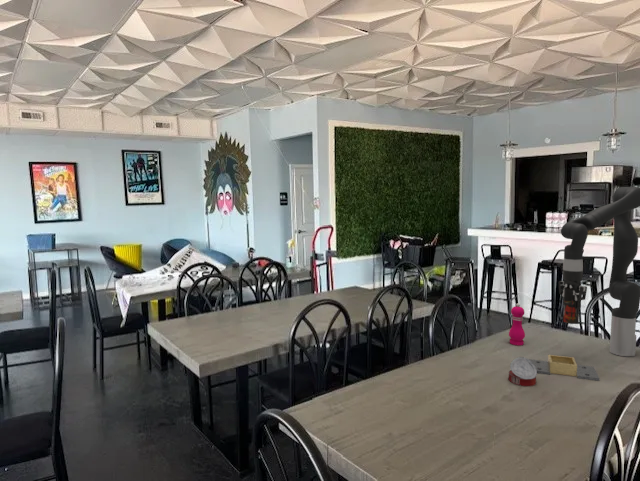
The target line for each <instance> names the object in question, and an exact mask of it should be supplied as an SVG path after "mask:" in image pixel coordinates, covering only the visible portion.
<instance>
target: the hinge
mask: <svg viewBox="0 0 640 481" xmlns="http://www.w3.org/2000/svg"><path fill="white" fill-rule="evenodd" d="M528 359H529V360H530V361H531V362H532V363H533V365H534V366H535V368H536V370H537V374H541V375H549V376H550V375H551V374H554V375H563V376H570V377H576V378H577V379H582V380H591V381H598V382H600V376H599V375H598V373H597V370H596V368H595V367H594V366H593V365H592V366H591V365H583V364H577V362H576V359H575V357H574V356H572V357H570V356H563V355H556V354H548V355H547V360H541V359H533V358H528Z"/></svg>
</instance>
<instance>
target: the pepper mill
mask: <svg viewBox="0 0 640 481" xmlns="http://www.w3.org/2000/svg"><path fill="white" fill-rule="evenodd" d="M510 314H511V319H512V325H511V328H510V329H509V331H508V336H509V344H510V345H513V346H518V347H519V346H523V345H524V343H525V342H524V339H525V338H526V332H525V330H524V328H523V320H524V315H525V309H524V308H523V307H522V306H521V304H520V303H516V304H515V306H513V307H512V308H511V310H510Z"/></svg>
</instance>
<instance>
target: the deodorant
mask: <svg viewBox="0 0 640 481" xmlns="http://www.w3.org/2000/svg"><path fill="white" fill-rule="evenodd" d="M574 291H575V293H579V290H574ZM577 297H578V295H577ZM579 320H580V309H575V298H574V295H573V289H570V288H564V305H563V323H564V324H565V323H566V324H571V325H572V324H575V325H576V324H579Z"/></svg>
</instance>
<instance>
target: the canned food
mask: <svg viewBox="0 0 640 481" xmlns="http://www.w3.org/2000/svg"><path fill="white" fill-rule="evenodd" d="M529 359H530V358H527V357H524V356H519V357H516V358H514V359H513V360H512V361H511V363H510V364H509V367H510V370H509V371H508V381H509V382H510V383H512V384H514V385H518V386H520V385H521V386H520V387H522V386H523V387H533V386H535V385H536V384H537V374H538V373H537V370H536V368H535V366H534V365H533V363H532V362H531V361H530V360H529Z"/></svg>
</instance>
